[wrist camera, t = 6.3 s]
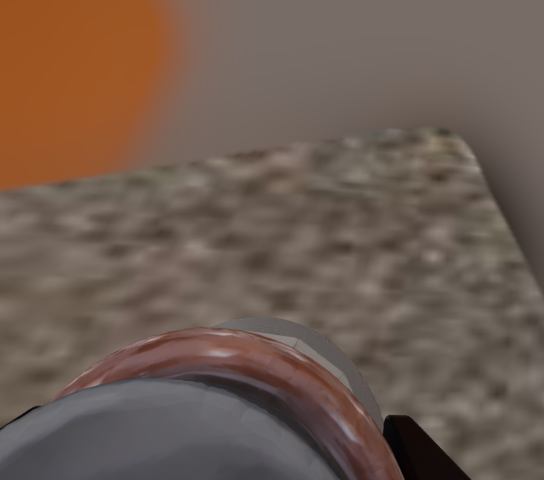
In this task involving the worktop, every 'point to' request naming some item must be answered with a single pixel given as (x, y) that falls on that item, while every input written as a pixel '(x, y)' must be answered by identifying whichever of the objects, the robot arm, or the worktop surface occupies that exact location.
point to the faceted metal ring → (313, 354)
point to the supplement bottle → (200, 417)
